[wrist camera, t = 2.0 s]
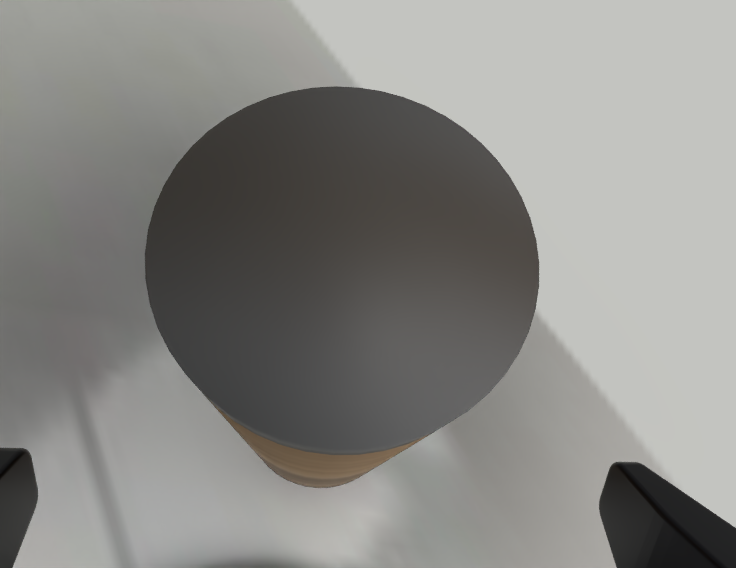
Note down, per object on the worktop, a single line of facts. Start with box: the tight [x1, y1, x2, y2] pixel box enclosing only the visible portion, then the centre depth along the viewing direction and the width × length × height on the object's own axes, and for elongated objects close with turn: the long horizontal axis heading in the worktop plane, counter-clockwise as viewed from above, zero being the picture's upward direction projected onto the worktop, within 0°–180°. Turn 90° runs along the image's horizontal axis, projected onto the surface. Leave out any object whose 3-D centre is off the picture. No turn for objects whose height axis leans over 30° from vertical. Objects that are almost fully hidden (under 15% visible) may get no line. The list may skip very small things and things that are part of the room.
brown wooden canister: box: [145, 87, 539, 488], centre depth 14 cm, size 6×5×13 cm
